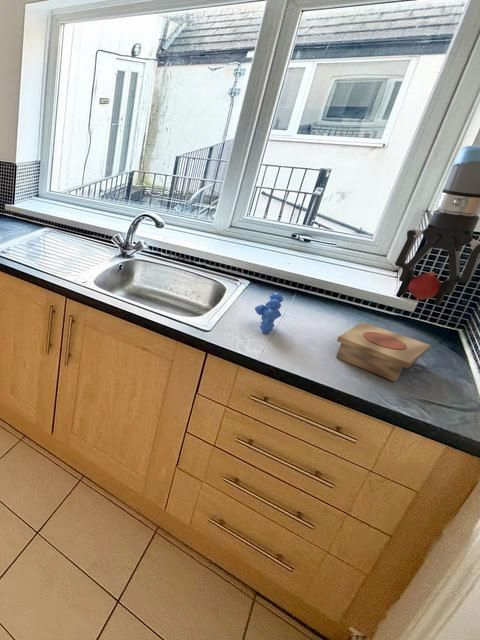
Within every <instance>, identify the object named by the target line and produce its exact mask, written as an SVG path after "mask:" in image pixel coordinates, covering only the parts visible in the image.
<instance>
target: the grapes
mask: <svg viewBox="0 0 480 640" xmlns="http://www.w3.org/2000/svg"><path fill="white" fill-rule="evenodd" d="M283 301H284V298H283V295H282V294H281V293H280V292H273V294H270V295H269V301H267V302H266V303H265V305H264V304H259V305H257V306H256V307H254V310H255V313H256V314H257V315H258V316H261V317H260V319H261V322H260V324H261V325H259V327H260V331H261V332H262V333H263V334H270V333H271V332H273V331H274V328H275V320H277V319H279V318H280V317H282V313H281V312H280V309H281V308H282V302H283Z"/></svg>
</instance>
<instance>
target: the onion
mask: <svg viewBox="0 0 480 640" xmlns="http://www.w3.org/2000/svg"><path fill="white" fill-rule="evenodd" d="M435 275H436V271H430V272H426V273H422V274H421V273H420V274H417V275H415V276H413V278H412V279H411V281H410V282H409V284H408V290H407V291H409V293H410V294H411V295H412V296H413V297H414V298H415V299H417V301H423V300H426V299H431V298H435V297H437V295H438V293H439V291H440V289H441V286H442V282H441V281H440V279H439V278H438V277H437V276H435Z"/></svg>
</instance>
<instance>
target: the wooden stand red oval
mask: <svg viewBox="0 0 480 640" xmlns="http://www.w3.org/2000/svg"><path fill="white" fill-rule="evenodd" d="M336 342H338V343H340V346H339V347H338V351H337V353H336V355H335V358H337V359H339V360H340V361H343V362H345V363H348V364H351V365H353V366H355V367H358V368H361V369H363V370H366V371H368V372H370V373H373V374H375V375H378V376H380V377H382V378H385V379H388V380H390V381H391V382H396V381H398V380H399V378H400V376H401V373H402V371H403V370H404V369H403V368H405V369H408V368H410V367H411V366H414V365H416V364H417V363H418V361H419V359H420V358H421V357H422V356H424V355H425V354H426V353H427V352H429V350H430V348H431V347H432V345H431V344H428V343H425V342H422V341H419V340H417V339H415V338H410V337H408V336H405V335H402V334H399V333H396V332H393V331H390V330H388V329H385V328H383V327H382V328H381V327H379V326H375V325H372V324H369V323H366V322H365V321H361V322H360V323H358V324H356V325H355V326H353V327H352V328H350V329H349V330H347V331H345V332H344V333H342V334H340V335H339V336H338V337H337V340H336Z"/></svg>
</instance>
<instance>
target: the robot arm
mask: <svg viewBox="0 0 480 640" xmlns="http://www.w3.org/2000/svg"><path fill="white" fill-rule="evenodd" d="M435 208H436V209H435V210H434V211H433V212H432V215H431V217H430V219H429V222H428V224H427V226H426V227H424V228H423V229H416V228H413V229H412V228H411V229H409V230H407V232H406V239H405V242H404V244H403V247H402V249H401V250H400V252H399V254H398V256H397V259H396V261H395V263H394V265H395V266H396V267H399V268H400V269H402V271H401V273H400V275H399V279H398V281H399V282H402V285H401V287H400V290H399V293H398V295H399V296H405V295H406V294H407V293H408V291H409V290H408V284H409V282H410V281H411V279H413V278H414V277H415V274H416V270H414V267H416V265H417V264H418V263H419V262H420V261H421V260H422V259H423V258H424V257H425V256H426V255H427V254H428V253H429V252H430V251H431V250H432V249H441V250H444V251H447V255H448V278H446V279H445V280H443V282H442V283H441V285H442V286H441V289H440V291H439V293H438V295H437V296H436V298H435V300H434V301H433V305H434V306H436V307H437V306H439V305H441V304H442V303H443V301H444V299H445V297H446V294H447V295H451V294H452V293H453V292H454V291H455V289H456V287H457V285H458V283H463V284H464V283H465V284H466V283H468V282H470V281H472V278H473V276H474V274H475V271H476V268H477V265H478V263H479V261H480V240H477V239H475V238H474V231H475V229H476V227H477V225H478V222H479V220H480V216H479V215H480V145H467V146H463V147H462V148H461V149H460V150H459V152H458V154H457V156H456V158H455V160H454V162H453V163H452V164H451V169H450V171H449V174H448V176H447V178H446V181H445V184H444V186H443V189H442V191H441V193H440V195H439V198H438V200H437V202H436V205H435ZM421 236H423V237H424V239H425V241H426V242H425V244H424V245H423V246H422V247H421V249H420V250H419V251H418V252H417V253H416V254H415V255H413V257H412V258H410V260H409V261H408V262H407V259H408V257H409V255H410V254H411V251H412V249H413V248H414V245H415V244H416V242H417V239H419V238H420V237H421ZM468 244H470V246H469V248H470V250H471V252H470V254H469V257H468V259H467V261H466V265H465V268H464V270H463V273H462V275H461V274H460V271H461V270H460V253H461V249H460V248H461V247H464V246H466V245H468Z"/></svg>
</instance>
